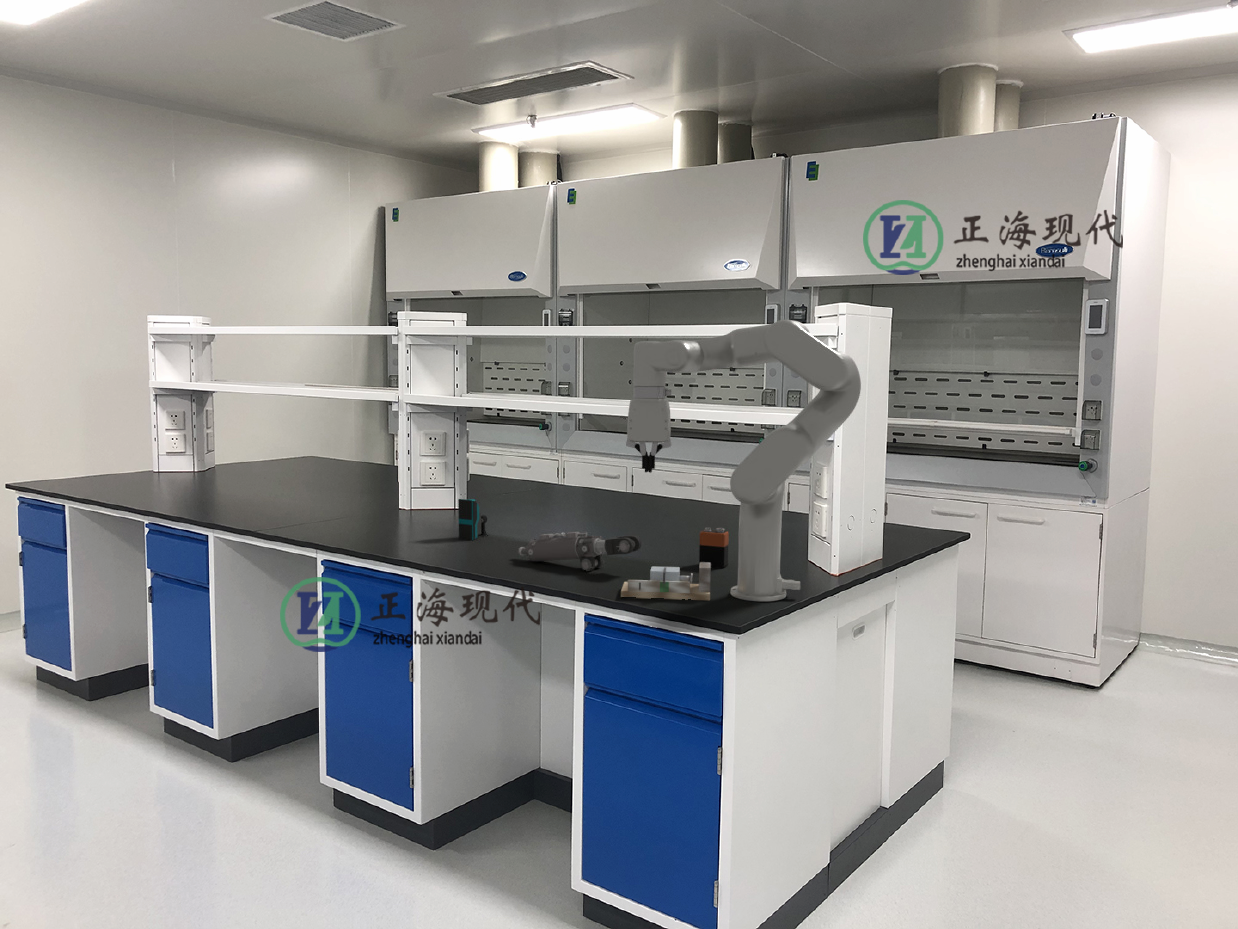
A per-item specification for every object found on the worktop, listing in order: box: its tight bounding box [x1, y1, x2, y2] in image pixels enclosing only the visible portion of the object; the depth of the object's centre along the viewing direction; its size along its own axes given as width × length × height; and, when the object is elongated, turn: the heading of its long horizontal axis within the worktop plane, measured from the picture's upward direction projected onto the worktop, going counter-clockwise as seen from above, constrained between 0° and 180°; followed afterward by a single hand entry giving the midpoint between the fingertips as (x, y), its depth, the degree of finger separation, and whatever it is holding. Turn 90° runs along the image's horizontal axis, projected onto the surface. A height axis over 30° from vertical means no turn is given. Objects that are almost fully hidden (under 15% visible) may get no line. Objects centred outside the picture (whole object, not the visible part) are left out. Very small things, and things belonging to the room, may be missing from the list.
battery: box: [698, 527, 730, 569], centre depth 244 cm, size 4×7×10 cm, turn 67°
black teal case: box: [457, 498, 488, 541], centre depth 280 cm, size 6×12×10 cm
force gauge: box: [649, 566, 694, 585], centre depth 212 cm, size 10×8×4 cm
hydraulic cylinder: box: [517, 531, 642, 572], centre depth 241 cm, size 7×37×10 cm, turn 59°
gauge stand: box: [620, 562, 712, 601], centre depth 214 cm, size 20×9×7 cm, turn 85°
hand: (648, 471), depth 221 cm, fingers closed
